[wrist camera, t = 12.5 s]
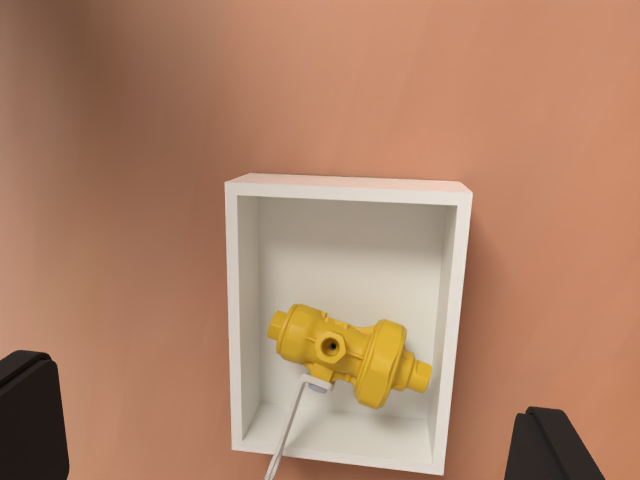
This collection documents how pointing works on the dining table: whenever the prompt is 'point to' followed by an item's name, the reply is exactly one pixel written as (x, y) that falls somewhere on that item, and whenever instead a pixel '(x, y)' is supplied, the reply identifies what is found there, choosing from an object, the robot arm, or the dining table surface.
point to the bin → (344, 308)
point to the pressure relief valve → (344, 360)
